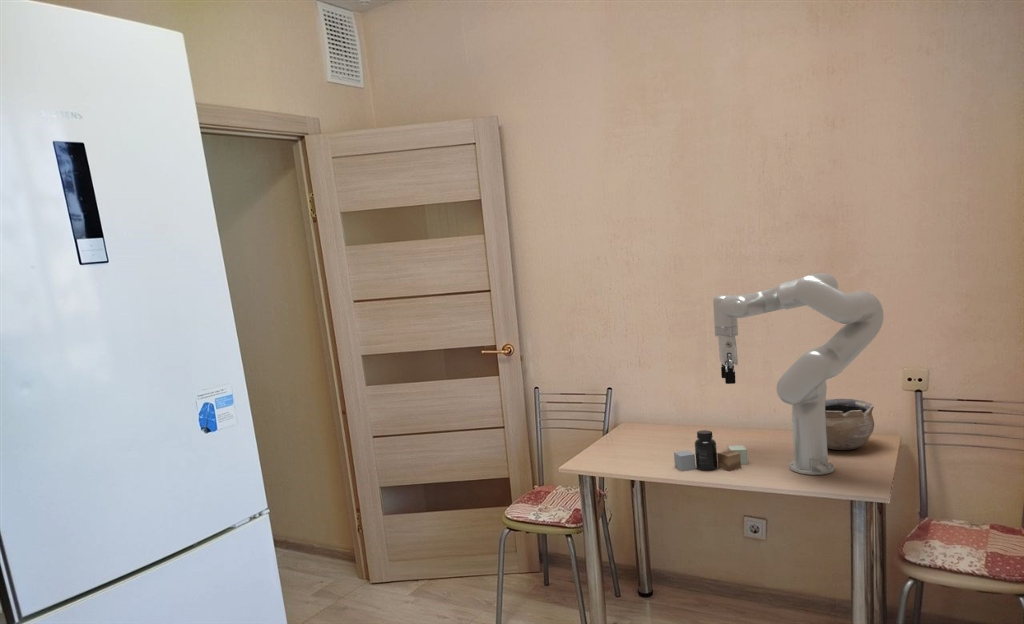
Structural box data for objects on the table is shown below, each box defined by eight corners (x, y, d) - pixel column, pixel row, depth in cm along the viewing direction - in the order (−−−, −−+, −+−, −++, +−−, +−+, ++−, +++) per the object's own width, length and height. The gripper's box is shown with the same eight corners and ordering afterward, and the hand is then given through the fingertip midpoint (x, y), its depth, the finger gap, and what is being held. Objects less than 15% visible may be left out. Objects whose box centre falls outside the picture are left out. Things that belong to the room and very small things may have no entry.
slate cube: (695, 469, 210) (694, 454, 209) (681, 471, 209) (680, 456, 209) (689, 465, 215) (688, 450, 214) (675, 467, 214) (673, 452, 213)
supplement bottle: (722, 468, 208) (719, 432, 207) (705, 472, 205) (702, 435, 205) (708, 463, 214) (706, 428, 213) (691, 467, 212) (689, 431, 211)
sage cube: (747, 464, 210) (746, 449, 210) (732, 465, 211) (731, 450, 210) (743, 459, 215) (742, 445, 215) (728, 460, 216) (727, 446, 215)
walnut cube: (741, 468, 207) (740, 453, 206) (729, 471, 205) (728, 456, 204) (729, 464, 211) (728, 449, 211) (718, 467, 209) (717, 452, 209)
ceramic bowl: (835, 460, 206) (833, 414, 205) (790, 444, 227) (787, 402, 226) (891, 449, 212) (889, 405, 211) (841, 435, 233) (839, 394, 232)
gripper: (741, 333, 209) (744, 385, 210) (733, 327, 226) (736, 375, 227) (717, 335, 210) (720, 386, 212) (711, 328, 227) (714, 376, 228)
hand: (728, 380), depth 219 cm, fingers open, 9 cm apart
